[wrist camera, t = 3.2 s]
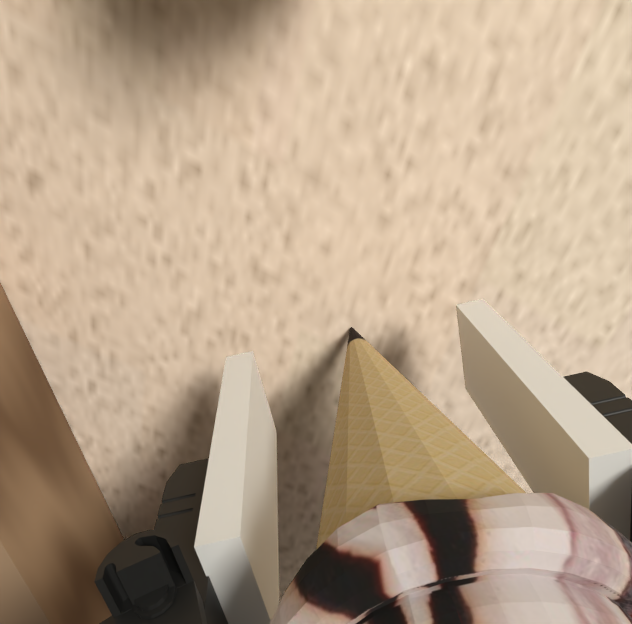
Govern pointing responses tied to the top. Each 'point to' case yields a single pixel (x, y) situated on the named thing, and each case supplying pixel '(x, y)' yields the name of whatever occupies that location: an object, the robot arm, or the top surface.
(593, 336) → the top surface
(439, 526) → the ice cream cone
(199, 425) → the top surface
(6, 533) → the walnut wall
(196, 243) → the top surface
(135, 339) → the top surface
